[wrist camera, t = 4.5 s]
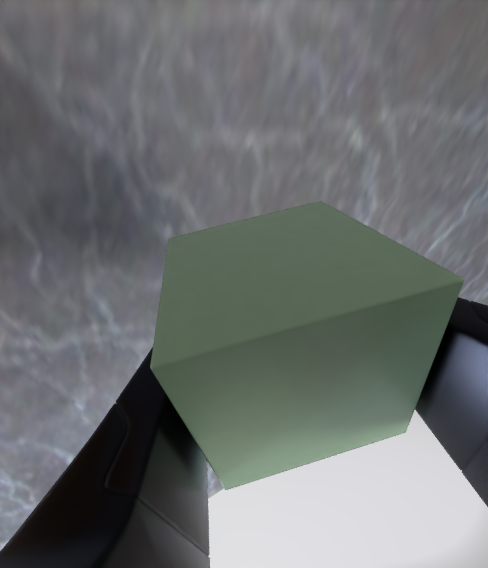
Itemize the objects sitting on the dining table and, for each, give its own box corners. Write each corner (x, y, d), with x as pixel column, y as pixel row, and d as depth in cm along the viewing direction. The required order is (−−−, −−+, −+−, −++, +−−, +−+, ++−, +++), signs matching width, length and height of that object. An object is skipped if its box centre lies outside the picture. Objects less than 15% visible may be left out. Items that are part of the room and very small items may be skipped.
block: (321, 315, 11) (406, 432, 7) (209, 346, 10) (225, 491, 6) (320, 199, 8) (467, 278, 4) (168, 237, 8) (148, 367, 4)
